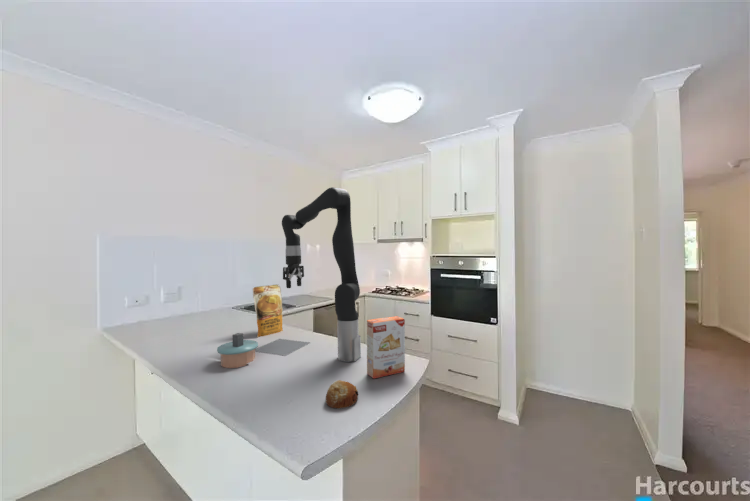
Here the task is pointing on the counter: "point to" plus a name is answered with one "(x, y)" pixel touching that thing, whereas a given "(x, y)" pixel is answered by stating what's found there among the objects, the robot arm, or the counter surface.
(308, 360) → the counter surface
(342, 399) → the bread roll
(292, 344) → the mat
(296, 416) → the counter surface
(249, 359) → the bowl
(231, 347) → the lid
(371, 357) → the cracker box
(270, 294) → the pancake mix bag
